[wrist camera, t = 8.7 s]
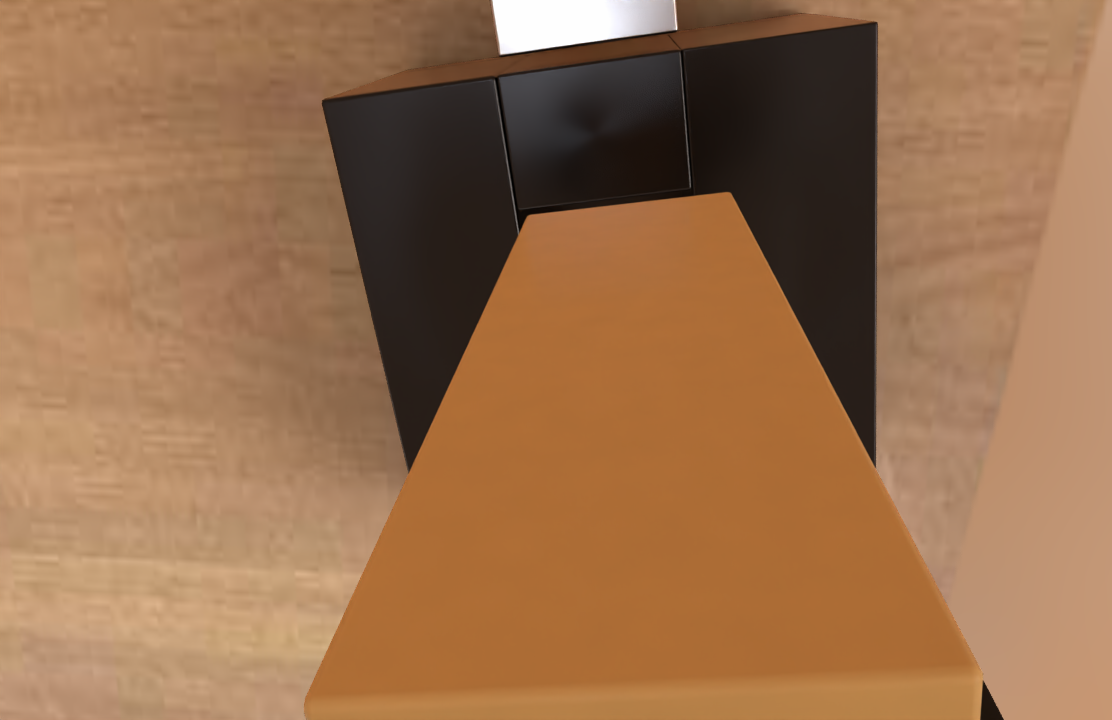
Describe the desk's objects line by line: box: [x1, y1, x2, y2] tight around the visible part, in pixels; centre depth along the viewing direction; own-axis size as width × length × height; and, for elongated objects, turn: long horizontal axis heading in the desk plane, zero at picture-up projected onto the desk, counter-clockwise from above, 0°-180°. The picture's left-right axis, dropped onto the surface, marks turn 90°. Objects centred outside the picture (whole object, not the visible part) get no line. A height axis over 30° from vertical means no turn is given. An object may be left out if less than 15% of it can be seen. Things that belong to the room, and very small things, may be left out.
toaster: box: [322, 13, 878, 474], centre depth 25 cm, size 12×16×8 cm
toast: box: [304, 192, 983, 720], centre depth 8 cm, size 2×8×8 cm, turn 8°
